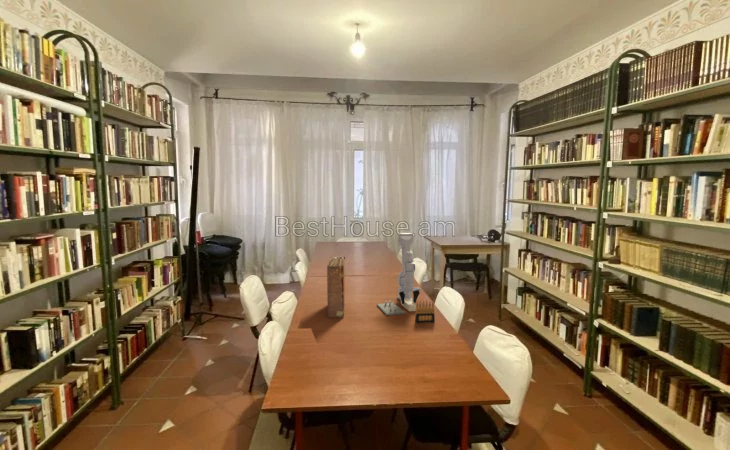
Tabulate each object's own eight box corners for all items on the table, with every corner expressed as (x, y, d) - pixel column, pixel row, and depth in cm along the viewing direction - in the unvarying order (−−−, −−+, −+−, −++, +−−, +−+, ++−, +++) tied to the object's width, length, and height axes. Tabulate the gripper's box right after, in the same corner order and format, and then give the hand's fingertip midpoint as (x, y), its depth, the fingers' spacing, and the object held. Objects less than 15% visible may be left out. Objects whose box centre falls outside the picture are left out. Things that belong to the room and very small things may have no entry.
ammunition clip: (415, 322, 209) (416, 301, 208) (414, 321, 211) (415, 300, 210) (434, 322, 210) (435, 301, 209) (433, 321, 212) (434, 300, 210)
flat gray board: (377, 305, 237) (377, 299, 237) (393, 304, 240) (393, 297, 240) (386, 315, 220) (386, 308, 220) (404, 313, 223) (404, 306, 223)
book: (330, 303, 241) (329, 257, 238) (344, 303, 242) (344, 257, 238) (327, 318, 216) (327, 266, 213) (343, 317, 216) (343, 266, 213)
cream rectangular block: (400, 304, 241) (400, 298, 240) (408, 303, 242) (408, 297, 242) (409, 311, 227) (409, 305, 227) (417, 311, 229) (417, 304, 228)
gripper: (400, 284, 227) (400, 306, 228) (422, 282, 231) (422, 304, 232) (396, 281, 234) (396, 302, 235) (418, 279, 238) (417, 300, 239)
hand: (408, 303), depth 234 cm, fingers open, 7 cm apart
